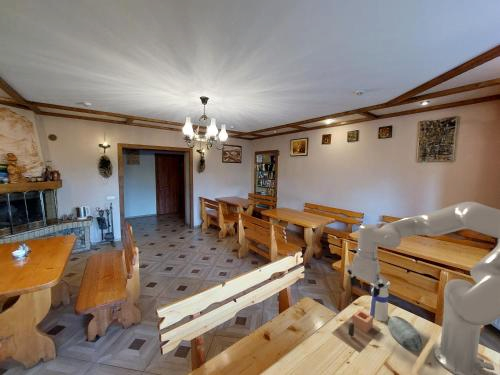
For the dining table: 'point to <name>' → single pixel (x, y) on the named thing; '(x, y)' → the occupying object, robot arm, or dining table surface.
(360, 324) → the orange hollow square block
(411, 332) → the grey streaked oval part
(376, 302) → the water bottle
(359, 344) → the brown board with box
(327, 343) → the dining table surface
